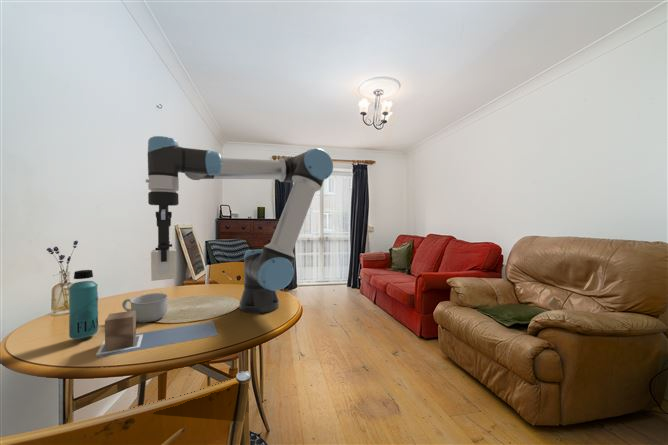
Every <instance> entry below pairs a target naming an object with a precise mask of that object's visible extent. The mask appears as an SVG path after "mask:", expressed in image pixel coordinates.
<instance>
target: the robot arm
mask: <svg viewBox="0 0 668 445" xmlns="http://www.w3.org/2000/svg"><path fill="white" fill-rule="evenodd" d="M333 170H334V163H333V160H332V157H331V156H330V154H329V153H328V152H327V151H325V150H324V149H322V148H318V147H317V148H310V149H308V150H307V151H305V152H302V153H300V154H298V155H294V156H291V157H280V158H279V159H277V160H276V159H275V160H274V159H273V160H272V159H255V158H254V159H253V158H252V159H251V158H250V159H249V158H246V159H245V158H232V157H231V158H230V157H228V158H227V157H222V155H221V153H220V152H218V151H215V150H214V151H213V150H209V149H199V148H187V147H182V146H180V145H179V142H178V140H177V139H175V138H173V137H168V136H163V135H156V136H155V135H153V136H151V137H149V139H148V141H147V176H148V178H147V179H145V183H147V185H148V186H147V188H148V190H150V191H149V192H148V193H147V199H148V201H147V202H148V205H150V206H158V211H155V218H156V228H157V238H158V240H157V241H158V242H157V247H155V249H154V250H158V274H160V273H170V256H169V249H171V248H172V247H173V243H170V242H171V241H170V227H171V225H172V217H173V216H172V215H173V214H172V213H173V211H170V210H169V206H171V207H174V206H179V193H178V191H179V188H180V187H179V186H180V185H179V180H180V179H179V173H181V174H182V173H183V174H184V175H185V177H187V178H188V179H190V180H192V181H200V180H278V181H279V182H281V183H293V184H292V186H291V190H290V193H289V195H288V197H287V200H286V202H285V205H284V208H283V210H282V212H281V215H280V217H279V220H278V223H277V225H276V227H275V230H274V232H273V235H272V237H271V240H270V242H269V243H268V244H265V245H263V248H262V249H249V250H246V251H245V252H244V255H243V256H244V257H243V261H244V262H243V264H244V266H243V272H244V273H243V277H244V278H243V283H244V284H243V285H244V286H243V291H242V295H241V298H240V301H239V305H238V306H239V310H240V311H242V312H244V313H248V314H249V313H250V314H265V313H268V312H272V311H276V310H277V309H278V308H279V307H280V299H279V296H278V294H277V293H278V292H277V291H281V290H282V289H283V290H284V289H285V288H286V287H287V286H289V284H290V283H291V282H292V280H293V279H294V274H295V270H294V267H293V263H294V261H295V258H296V256H295V254H294V248H295V246H296V243H297V241H298V238H299V236H300V233H301V230H302V228H303V225H304V222H305V220H306V216H307V214H308V212H309V209H310V207H311V204H312V201H313V200H314V199H313V198H314V196H315V193H316V192H318V191H320V190H321V189H322V187H323V184H324V181H325V180H327V179H328V178H329V177H331V175H332V174H333Z"/></svg>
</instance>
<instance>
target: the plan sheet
mask: <svg viewBox="0 0 668 445" xmlns="http://www.w3.org/2000/svg"><path fill="white" fill-rule="evenodd" d="M216 336H219V334H218V332H217V329H216V327H215V323H214V321H208V322H201V323H195V324H190V325H183V326H182V325H181V326H177V327H171V328H170V327H169V328H165V329H164V328H163V329H158V330H153V331H146V332H139V333H136V339H135V342H134V345H133V346H131V347H126V348H120V349H115V350H109V351H105V340H103V341H102V343H101V345H100V347H99V348H98V349H97V352H96V354H95V356H97V357H96V358H98V359H99V358H102V357H108V356H109V357H110V356H113V355H114V356H115V355H118V354H119V355H121V354H124V353H130V352H131V353H132V352H136V351H141V350H145V349H146V350H147V349H152V348H157V347H162V346H168V345H174V344H179V343H185V342H188V341H194V340H200V339H205V338H210V337H211V338H212V337H216Z"/></svg>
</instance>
